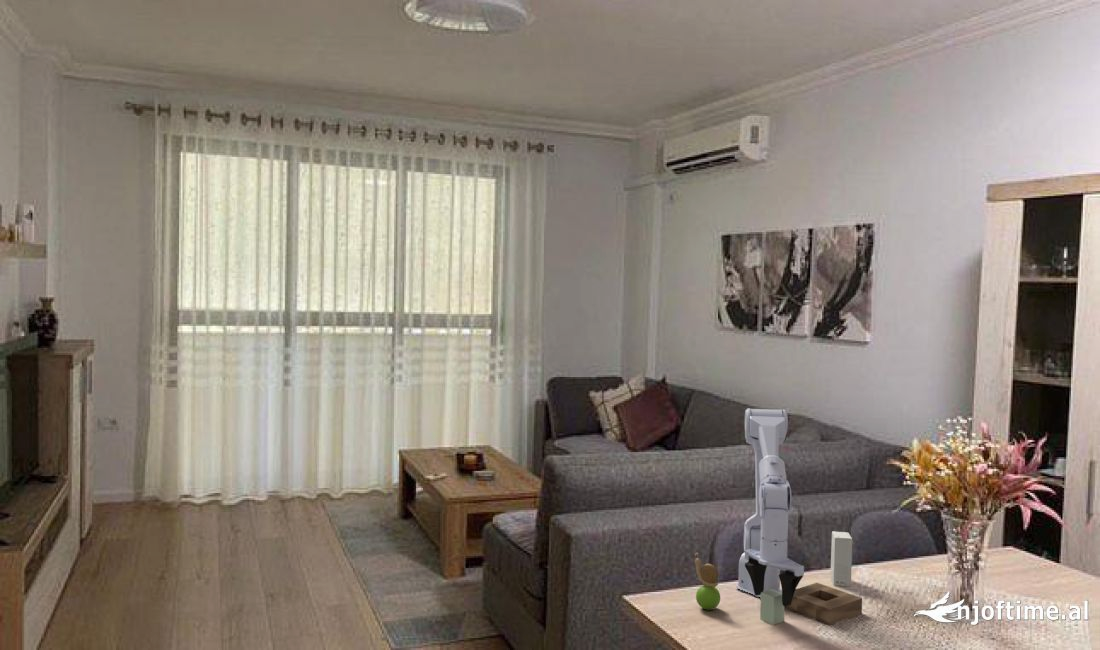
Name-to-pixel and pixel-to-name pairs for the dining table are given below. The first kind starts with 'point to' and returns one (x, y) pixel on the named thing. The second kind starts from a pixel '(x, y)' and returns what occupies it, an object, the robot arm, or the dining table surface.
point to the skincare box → (841, 558)
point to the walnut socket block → (825, 603)
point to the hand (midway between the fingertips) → (772, 599)
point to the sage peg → (771, 607)
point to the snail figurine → (707, 585)
